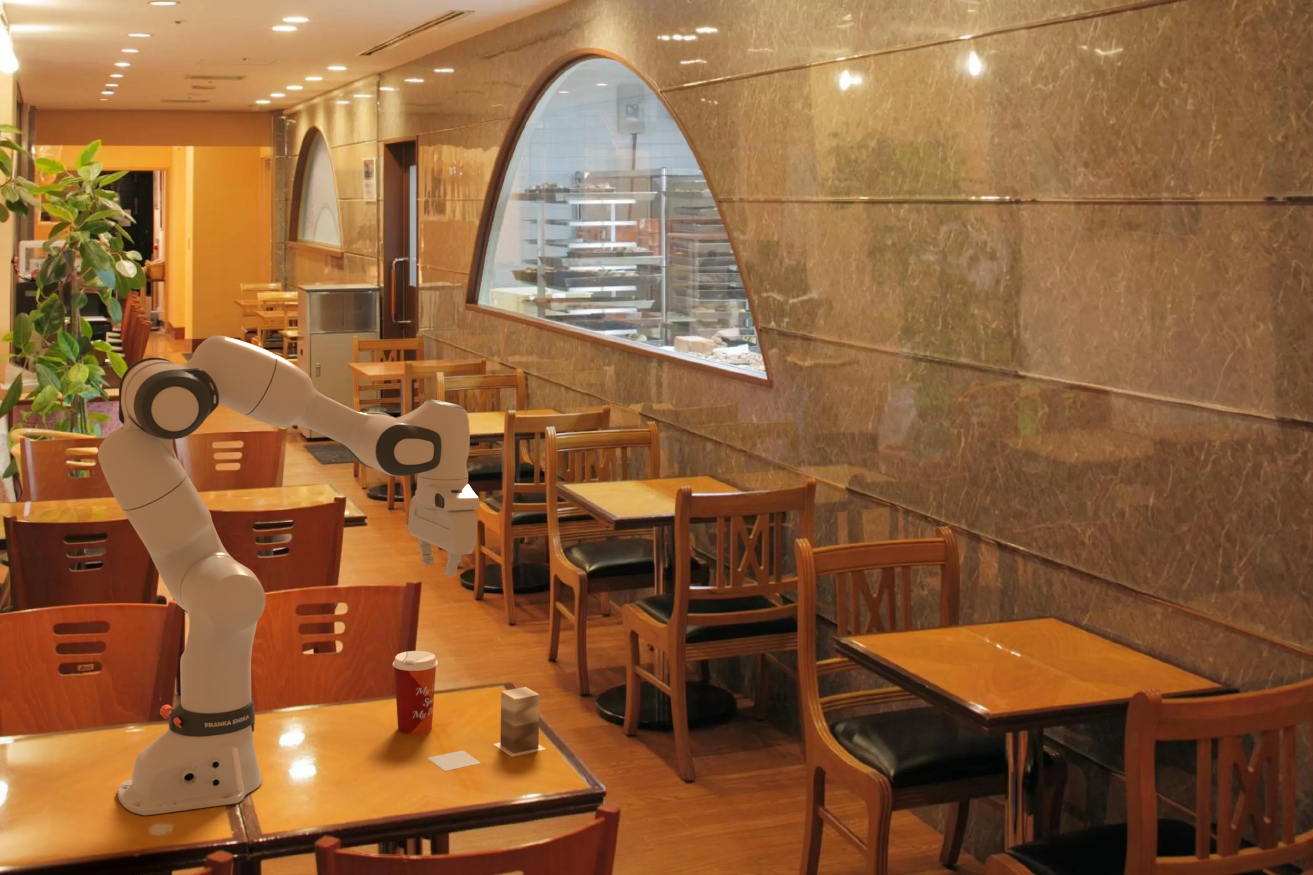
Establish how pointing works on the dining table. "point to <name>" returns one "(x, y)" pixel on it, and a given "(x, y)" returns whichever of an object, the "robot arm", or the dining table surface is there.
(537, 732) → the walnut block
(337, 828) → the dining table surface
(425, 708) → the coffee cup
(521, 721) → the maple block
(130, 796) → the robot arm
